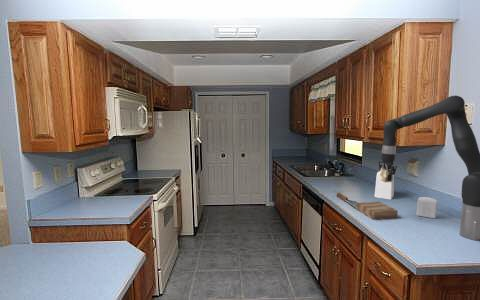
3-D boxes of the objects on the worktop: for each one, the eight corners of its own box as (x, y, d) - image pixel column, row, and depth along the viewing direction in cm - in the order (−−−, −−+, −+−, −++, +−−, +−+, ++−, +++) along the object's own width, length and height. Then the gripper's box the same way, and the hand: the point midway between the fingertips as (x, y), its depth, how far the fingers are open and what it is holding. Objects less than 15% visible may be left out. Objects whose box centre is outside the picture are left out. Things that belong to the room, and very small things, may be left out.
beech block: (392, 182, 170) (393, 170, 169) (384, 182, 169) (385, 171, 168) (387, 180, 175) (388, 169, 174) (379, 180, 174) (380, 169, 173)
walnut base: (397, 218, 171) (397, 210, 170) (373, 219, 169) (373, 211, 168) (378, 208, 189) (378, 201, 188) (356, 209, 186) (357, 202, 186)
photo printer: (435, 216, 173) (437, 197, 172) (436, 219, 170) (438, 199, 168) (416, 214, 178) (417, 195, 177) (416, 216, 175) (417, 197, 173)
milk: (390, 199, 209) (393, 165, 206) (374, 196, 216) (376, 164, 213) (393, 195, 219) (395, 163, 216) (377, 193, 226) (379, 161, 223)
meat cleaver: (372, 210, 186) (373, 205, 185) (356, 211, 185) (356, 205, 184) (349, 196, 219) (349, 191, 219) (335, 197, 218) (335, 192, 218)
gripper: (402, 154, 163) (399, 182, 166) (386, 150, 177) (384, 176, 180) (390, 154, 162) (388, 182, 165) (375, 151, 176) (373, 177, 179)
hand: (386, 179), depth 172 cm, fingers closed on beech block, 5 cm apart
